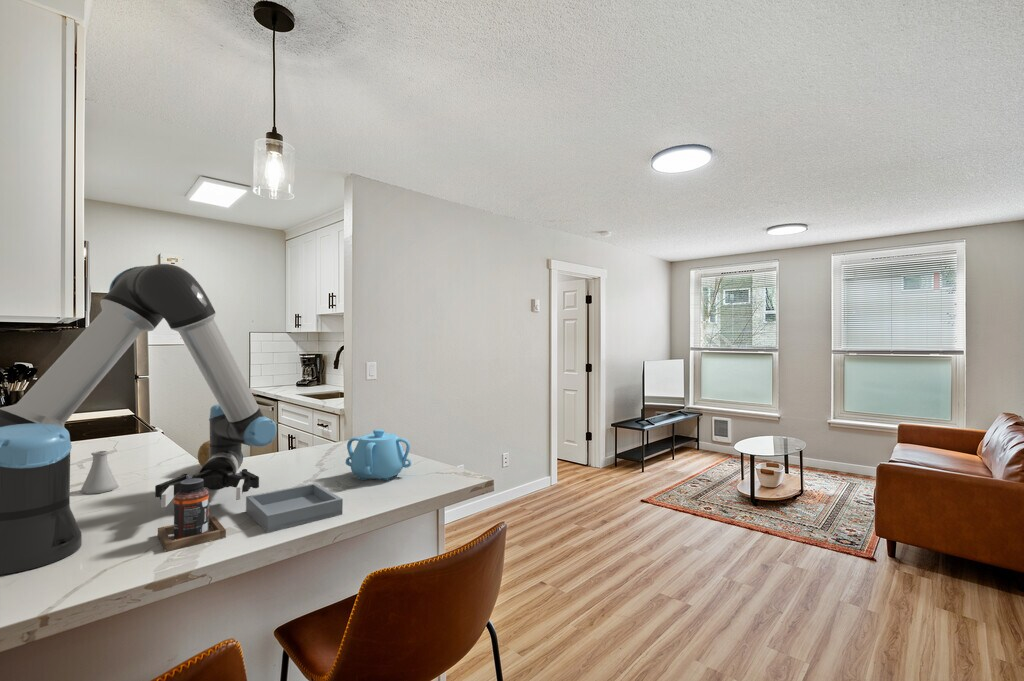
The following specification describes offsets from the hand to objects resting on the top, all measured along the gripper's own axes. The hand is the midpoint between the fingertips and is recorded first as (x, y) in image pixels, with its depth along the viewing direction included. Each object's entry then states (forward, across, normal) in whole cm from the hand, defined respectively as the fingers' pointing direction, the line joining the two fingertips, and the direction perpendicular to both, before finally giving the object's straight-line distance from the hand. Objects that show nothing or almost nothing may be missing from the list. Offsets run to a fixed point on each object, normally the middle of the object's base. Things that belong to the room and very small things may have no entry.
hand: (201, 497), depth 103 cm
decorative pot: (-26, -40, -7) cm, 48 cm away
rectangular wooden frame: (+5, +1, -6) cm, 8 cm away
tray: (-2, -18, -6) cm, 19 cm away
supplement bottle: (+5, +1, -7) cm, 8 cm away
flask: (-37, +29, -7) cm, 48 cm away
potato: (-51, +5, -7) cm, 52 cm away
